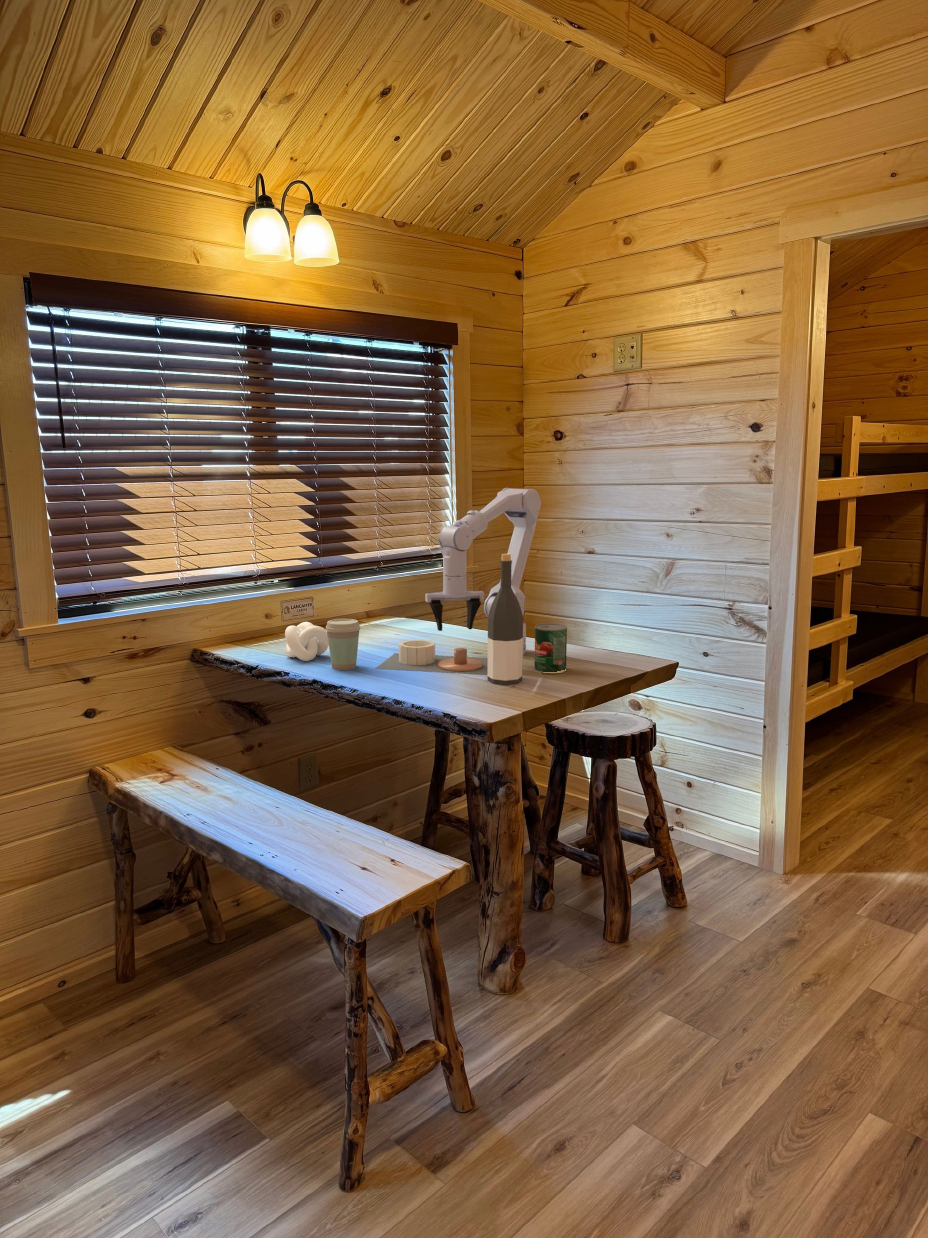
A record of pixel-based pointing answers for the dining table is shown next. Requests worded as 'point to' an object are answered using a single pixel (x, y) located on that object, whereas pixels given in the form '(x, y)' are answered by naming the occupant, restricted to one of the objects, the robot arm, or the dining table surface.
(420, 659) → the bowl
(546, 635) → the canned tomato
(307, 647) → the white knot sculpture
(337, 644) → the coffee cup
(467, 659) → the lid
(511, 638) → the wine bottle
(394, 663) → the mat
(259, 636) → the dining table surface
